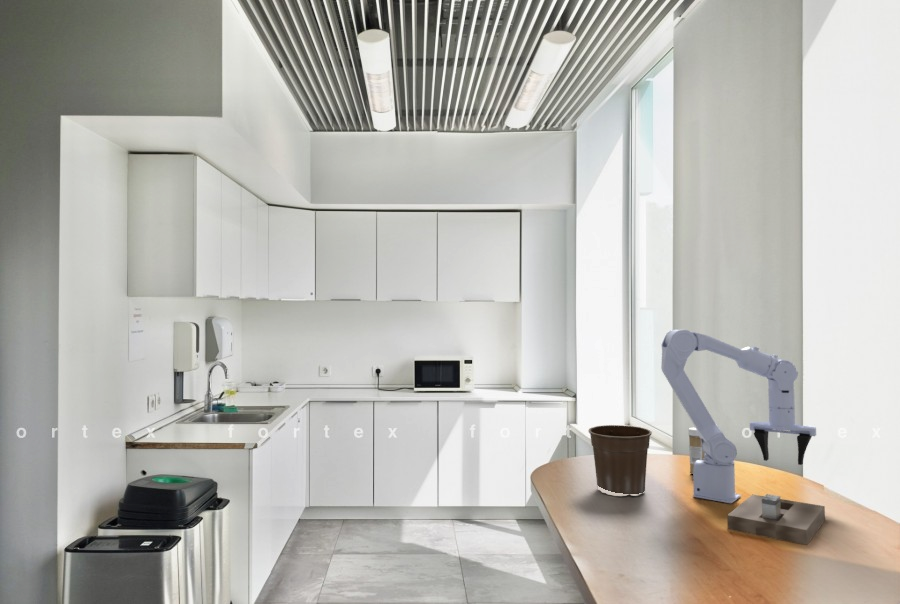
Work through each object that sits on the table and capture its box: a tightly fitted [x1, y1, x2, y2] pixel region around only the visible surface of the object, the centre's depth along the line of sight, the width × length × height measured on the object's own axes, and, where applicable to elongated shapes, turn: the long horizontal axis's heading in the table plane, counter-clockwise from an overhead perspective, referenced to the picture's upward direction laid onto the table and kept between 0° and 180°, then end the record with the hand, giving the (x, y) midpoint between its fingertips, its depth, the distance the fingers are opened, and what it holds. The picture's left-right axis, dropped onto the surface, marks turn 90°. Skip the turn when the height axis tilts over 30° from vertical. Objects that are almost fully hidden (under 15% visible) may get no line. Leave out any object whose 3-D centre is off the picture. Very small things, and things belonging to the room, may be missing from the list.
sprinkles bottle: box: [688, 427, 706, 475], centre depth 177 cm, size 5×5×14 cm
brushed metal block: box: [762, 493, 781, 521], centre depth 130 cm, size 3×4×7 cm, turn 139°
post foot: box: [726, 494, 826, 546], centre depth 134 cm, size 15×20×3 cm
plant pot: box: [587, 424, 653, 494], centre depth 161 cm, size 16×16×16 cm
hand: (783, 461), depth 152 cm, fingers open, 7 cm apart
